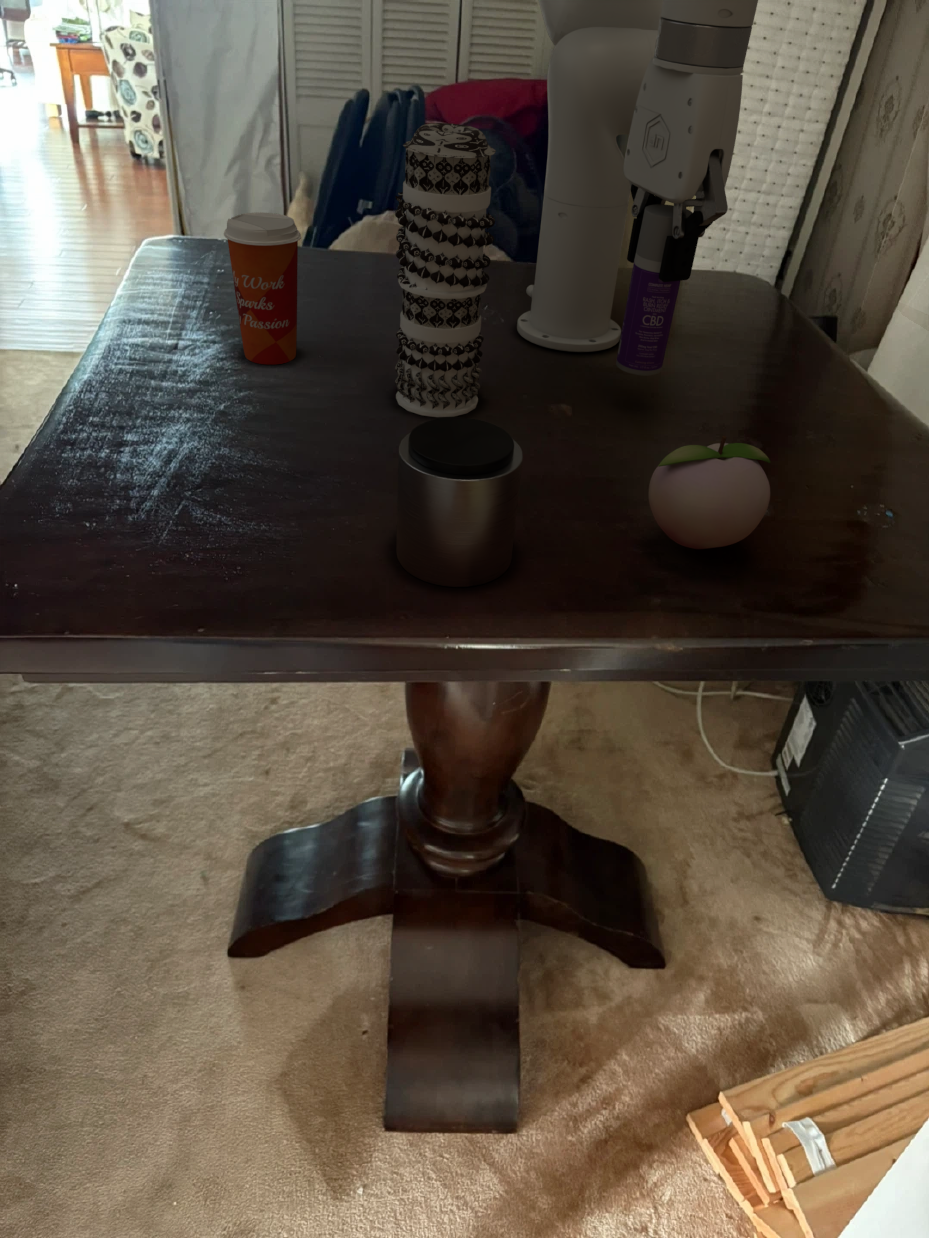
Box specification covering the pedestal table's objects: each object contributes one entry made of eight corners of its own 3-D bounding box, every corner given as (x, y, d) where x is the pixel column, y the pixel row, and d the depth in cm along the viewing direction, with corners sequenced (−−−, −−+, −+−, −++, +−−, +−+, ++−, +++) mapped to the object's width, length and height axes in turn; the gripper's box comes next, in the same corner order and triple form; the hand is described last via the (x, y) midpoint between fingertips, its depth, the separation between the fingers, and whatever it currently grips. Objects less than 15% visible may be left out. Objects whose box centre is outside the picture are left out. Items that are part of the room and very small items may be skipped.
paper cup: (220, 359, 99) (207, 223, 91) (259, 337, 105) (249, 207, 97) (283, 374, 97) (275, 236, 89) (319, 350, 103) (315, 219, 94)
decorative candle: (373, 397, 94) (373, 123, 79) (436, 374, 100) (448, 115, 85) (436, 427, 89) (451, 143, 74) (499, 402, 95) (524, 133, 80)
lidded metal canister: (379, 535, 73) (380, 421, 67) (481, 516, 77) (490, 406, 71) (422, 597, 67) (427, 478, 61) (531, 574, 70) (546, 459, 64)
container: (633, 378, 91) (664, 219, 82) (606, 360, 94) (633, 205, 85) (670, 372, 93) (705, 216, 84) (643, 354, 96) (673, 202, 87)
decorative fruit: (678, 589, 70) (707, 472, 64) (622, 534, 76) (644, 422, 70) (776, 567, 73) (813, 454, 67) (715, 516, 79) (744, 408, 73)
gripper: (609, 32, 81) (579, 245, 92) (726, 65, 69) (675, 305, 80) (679, 34, 84) (641, 241, 95) (803, 66, 72) (744, 298, 83)
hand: (657, 268), depth 88 cm, fingers closed on container, 4 cm apart
